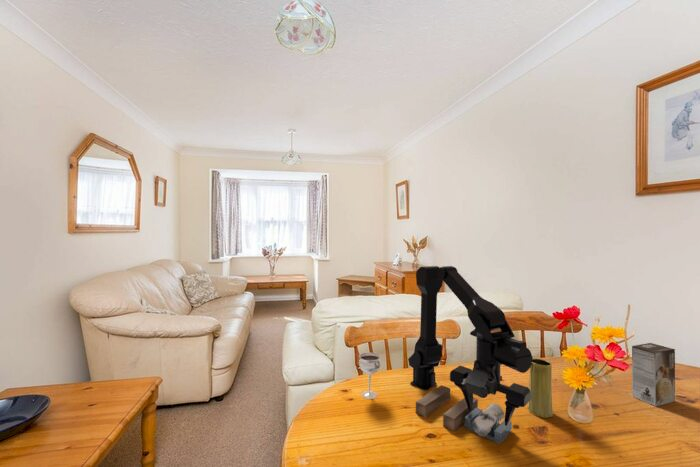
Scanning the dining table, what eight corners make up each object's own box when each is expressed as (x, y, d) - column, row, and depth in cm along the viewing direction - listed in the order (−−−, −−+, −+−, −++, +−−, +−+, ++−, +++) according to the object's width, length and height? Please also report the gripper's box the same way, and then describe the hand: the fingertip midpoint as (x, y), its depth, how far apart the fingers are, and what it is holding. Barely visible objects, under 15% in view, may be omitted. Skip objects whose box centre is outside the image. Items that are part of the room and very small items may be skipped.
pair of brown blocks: (415, 412, 90) (415, 401, 90) (441, 395, 99) (441, 385, 99) (453, 431, 81) (453, 418, 81) (477, 410, 91) (477, 399, 91)
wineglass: (355, 397, 98) (355, 358, 98) (362, 387, 104) (363, 351, 104) (376, 402, 95) (376, 362, 95) (382, 391, 101) (383, 354, 101)
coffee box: (650, 392, 102) (650, 342, 102) (675, 402, 96) (676, 349, 96) (631, 396, 99) (631, 345, 99) (656, 407, 93) (656, 352, 93)
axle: (486, 440, 77) (489, 425, 77) (471, 430, 80) (473, 415, 80) (502, 423, 84) (505, 409, 84) (487, 414, 87) (490, 400, 87)
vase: (556, 419, 87) (557, 367, 87) (532, 416, 88) (532, 365, 88) (547, 407, 93) (548, 358, 93) (524, 405, 94) (525, 356, 94)
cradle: (464, 427, 83) (464, 417, 83) (476, 416, 88) (476, 407, 88) (501, 444, 77) (501, 433, 76) (511, 431, 81) (511, 421, 81)
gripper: (439, 355, 83) (439, 414, 83) (516, 379, 70) (515, 449, 70) (459, 344, 91) (459, 399, 91) (532, 364, 78) (531, 428, 78)
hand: (487, 417), depth 82 cm, fingers open, 9 cm apart
